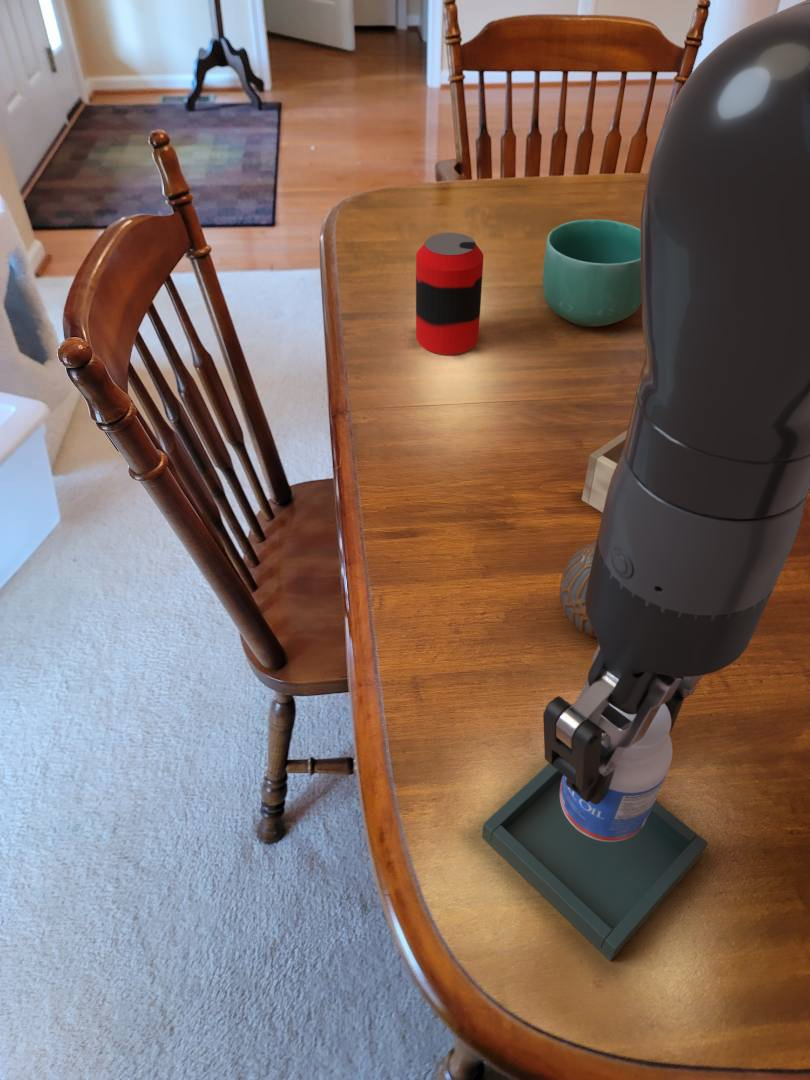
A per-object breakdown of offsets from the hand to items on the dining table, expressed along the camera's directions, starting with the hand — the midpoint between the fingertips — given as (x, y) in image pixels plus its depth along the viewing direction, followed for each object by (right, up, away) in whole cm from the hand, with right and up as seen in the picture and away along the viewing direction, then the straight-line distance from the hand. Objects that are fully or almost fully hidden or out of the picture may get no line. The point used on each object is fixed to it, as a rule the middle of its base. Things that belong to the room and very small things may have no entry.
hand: (619, 756), depth 47 cm
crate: (+12, +16, +32) cm, 38 cm away
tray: (0, -8, +8) cm, 11 cm away
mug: (+13, +41, +58) cm, 72 cm away
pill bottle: (0, -4, +4) cm, 6 cm away
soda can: (-7, +36, +54) cm, 65 cm away
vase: (+4, +6, +22) cm, 23 cm away
